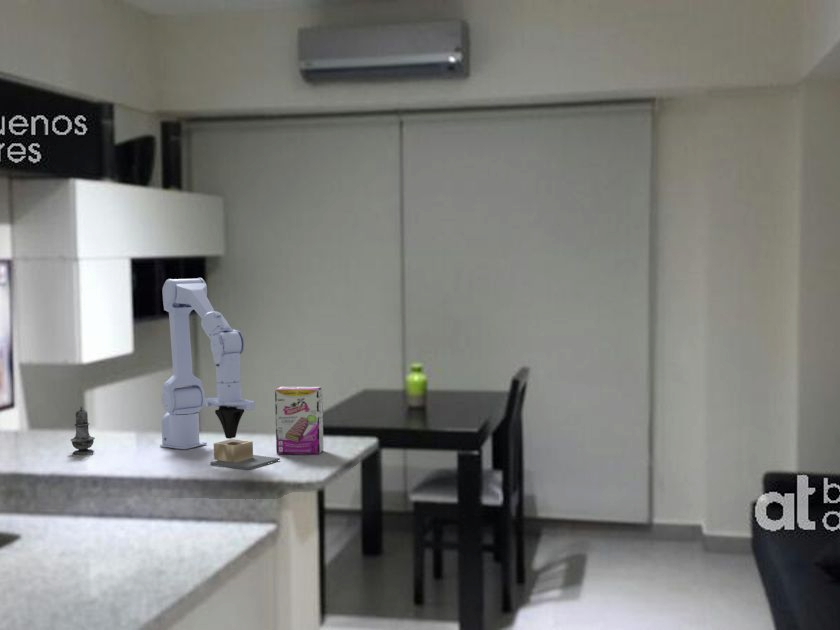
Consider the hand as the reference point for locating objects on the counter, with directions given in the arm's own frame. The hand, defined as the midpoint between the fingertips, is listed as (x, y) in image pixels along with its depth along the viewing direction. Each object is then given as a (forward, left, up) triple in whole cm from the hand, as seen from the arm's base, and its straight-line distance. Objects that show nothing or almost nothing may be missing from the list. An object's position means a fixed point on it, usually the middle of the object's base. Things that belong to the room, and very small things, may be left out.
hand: (230, 437), depth 227 cm
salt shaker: (-42, -10, -6) cm, 44 cm away
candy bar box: (+9, +15, -6) cm, 18 cm away
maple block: (-3, 0, -3) cm, 4 cm away
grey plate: (+4, 0, -6) cm, 7 cm away
